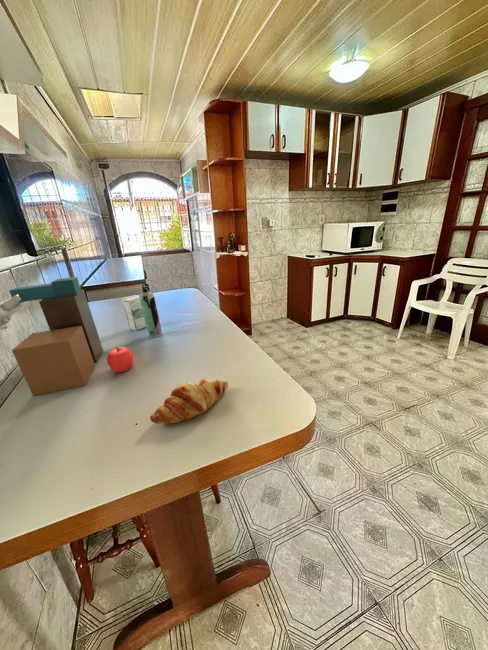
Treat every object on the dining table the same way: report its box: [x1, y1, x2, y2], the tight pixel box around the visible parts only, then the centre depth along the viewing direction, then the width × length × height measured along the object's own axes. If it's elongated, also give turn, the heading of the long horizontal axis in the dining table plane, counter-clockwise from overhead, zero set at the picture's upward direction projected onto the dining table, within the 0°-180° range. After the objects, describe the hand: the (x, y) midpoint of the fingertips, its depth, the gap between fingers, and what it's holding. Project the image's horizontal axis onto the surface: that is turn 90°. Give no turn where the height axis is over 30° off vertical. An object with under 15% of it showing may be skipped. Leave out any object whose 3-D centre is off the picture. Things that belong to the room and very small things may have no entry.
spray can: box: [138, 287, 163, 339], centre depth 108 cm, size 6×6×20 cm
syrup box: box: [121, 294, 147, 332], centre depth 118 cm, size 6×6×14 cm
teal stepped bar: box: [8, 276, 82, 303], centre depth 85 cm, size 18×5×5 cm, turn 105°
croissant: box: [149, 378, 229, 424], centre depth 66 cm, size 21×10×8 cm, turn 130°
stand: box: [38, 289, 104, 365], centre depth 92 cm, size 10×10×24 cm
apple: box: [106, 346, 135, 373], centre depth 86 cm, size 8×8×8 cm
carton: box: [11, 326, 96, 397], centre depth 81 cm, size 14×12×15 cm
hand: (27, 292), depth 84 cm, fingers open, 8 cm apart
